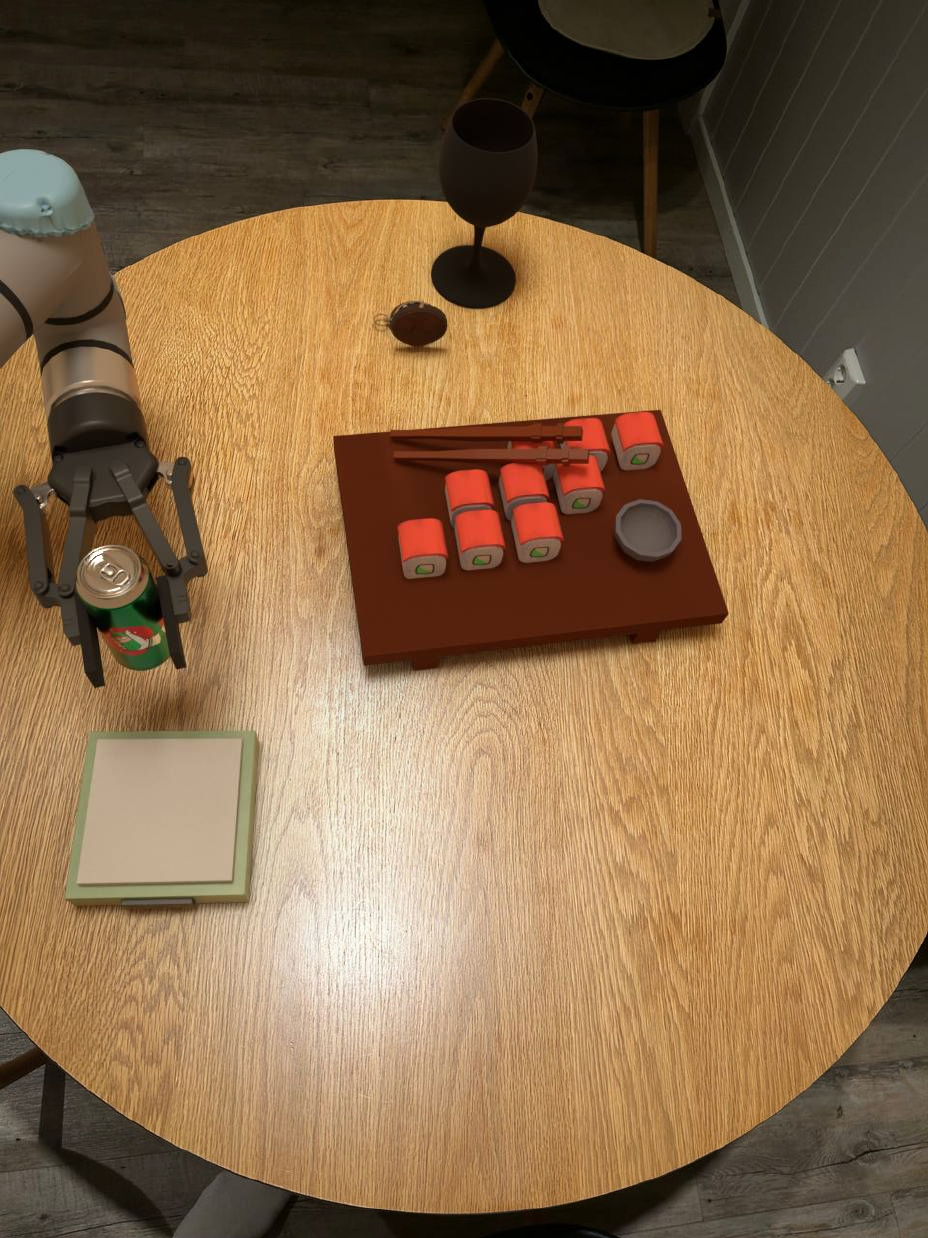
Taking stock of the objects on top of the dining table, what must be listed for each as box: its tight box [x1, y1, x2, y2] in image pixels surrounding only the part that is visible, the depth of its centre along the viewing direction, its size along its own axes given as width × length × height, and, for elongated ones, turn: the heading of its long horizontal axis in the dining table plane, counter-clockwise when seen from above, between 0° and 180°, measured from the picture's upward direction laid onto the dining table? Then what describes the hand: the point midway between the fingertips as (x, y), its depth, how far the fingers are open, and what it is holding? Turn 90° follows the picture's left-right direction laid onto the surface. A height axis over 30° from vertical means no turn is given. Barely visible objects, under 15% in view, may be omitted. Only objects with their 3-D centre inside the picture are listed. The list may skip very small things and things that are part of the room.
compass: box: [372, 299, 448, 346], centre depth 105 cm, size 8×8×7 cm
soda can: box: [75, 544, 171, 672], centre depth 70 cm, size 5×5×12 cm
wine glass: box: [430, 97, 539, 310], centre depth 104 cm, size 10×10×20 cm
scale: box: [63, 730, 260, 910], centre depth 79 cm, size 14×14×4 cm
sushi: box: [332, 409, 730, 672], centre depth 91 cm, size 25×35×12 cm
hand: (137, 669), depth 67 cm, fingers closed on soda can, 5 cm apart
